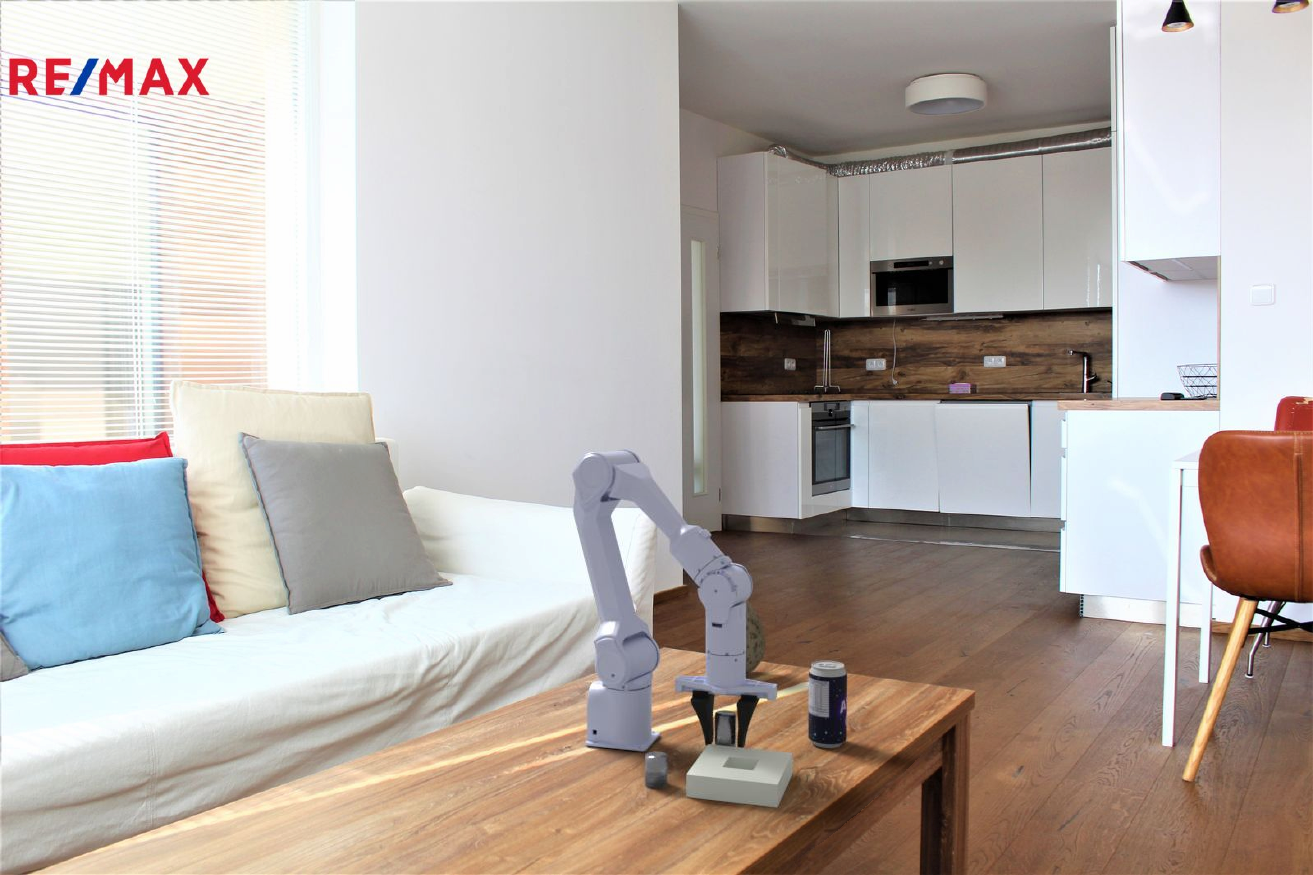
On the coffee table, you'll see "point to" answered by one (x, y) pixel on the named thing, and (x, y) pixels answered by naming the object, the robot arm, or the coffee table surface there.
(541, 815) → the coffee table surface
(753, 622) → the decorative egg
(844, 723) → the beverage can
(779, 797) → the hole block
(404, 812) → the coffee table surface
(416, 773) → the coffee table surface
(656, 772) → the short pin
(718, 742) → the long pin
